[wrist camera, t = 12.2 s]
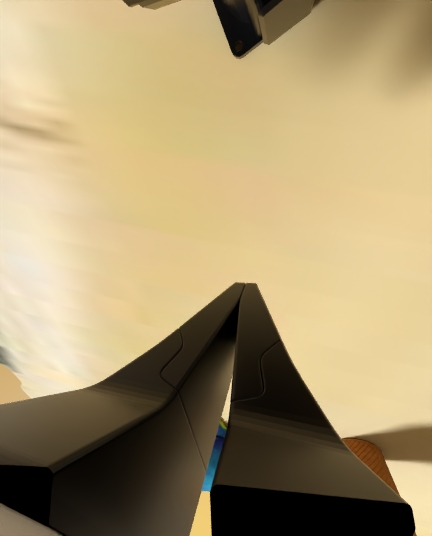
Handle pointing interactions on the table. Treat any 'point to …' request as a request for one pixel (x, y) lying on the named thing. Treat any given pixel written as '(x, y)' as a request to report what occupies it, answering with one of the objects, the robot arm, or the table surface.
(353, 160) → the table surface
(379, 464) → the disposable coffee cup
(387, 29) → the table surface
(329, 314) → the table surface
